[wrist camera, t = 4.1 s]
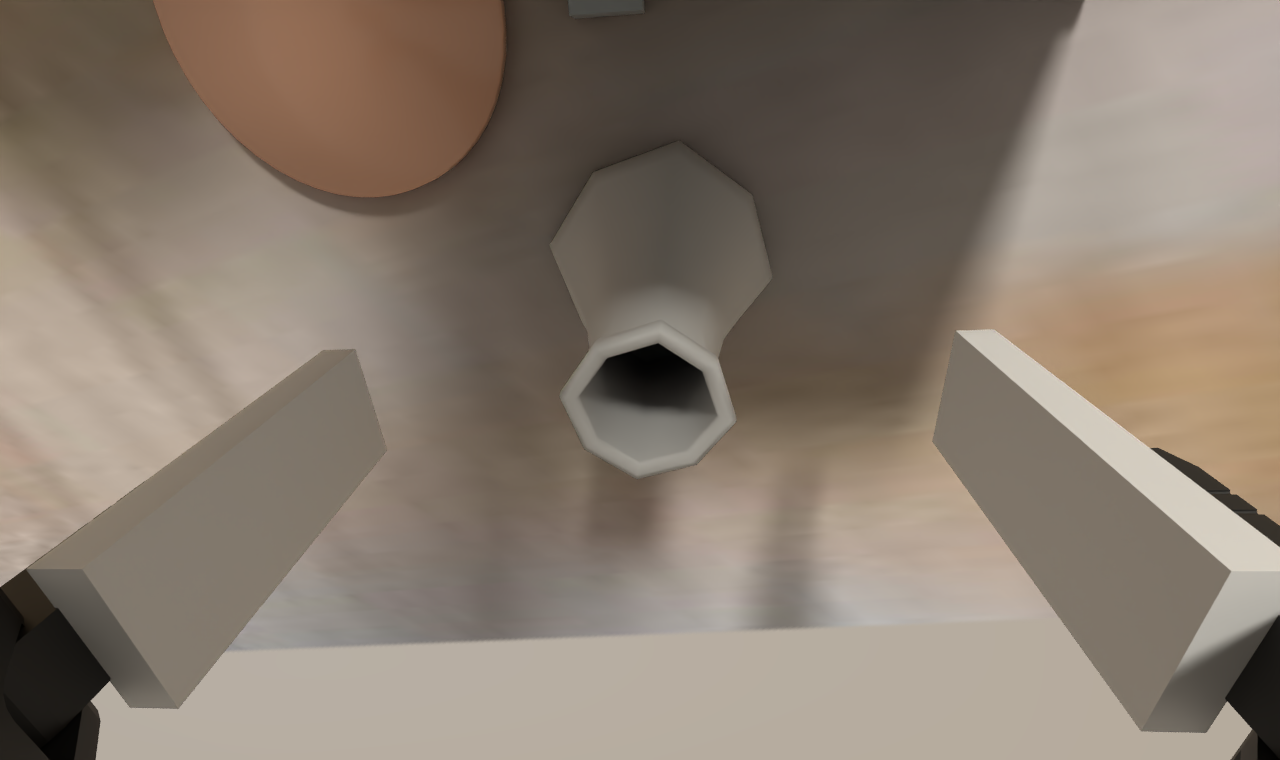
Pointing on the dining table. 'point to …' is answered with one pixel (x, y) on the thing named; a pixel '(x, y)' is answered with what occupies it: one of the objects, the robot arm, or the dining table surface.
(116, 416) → the dining table surface
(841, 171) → the dining table surface
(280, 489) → the robot arm
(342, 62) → the coaster
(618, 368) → the flask
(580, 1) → the screen
